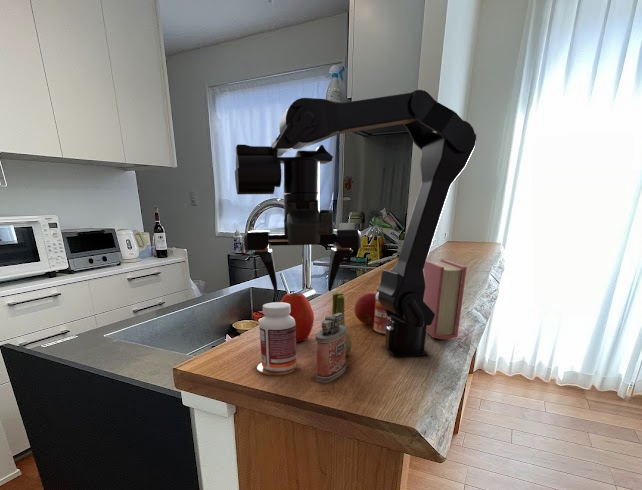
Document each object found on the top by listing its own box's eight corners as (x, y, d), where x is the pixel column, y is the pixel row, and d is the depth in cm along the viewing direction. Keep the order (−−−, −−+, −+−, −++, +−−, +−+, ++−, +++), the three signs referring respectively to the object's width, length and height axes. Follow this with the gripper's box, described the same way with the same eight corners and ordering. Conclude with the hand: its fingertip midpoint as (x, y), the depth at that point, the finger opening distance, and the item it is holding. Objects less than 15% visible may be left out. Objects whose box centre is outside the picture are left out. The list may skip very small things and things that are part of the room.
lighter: (329, 384, 60) (330, 323, 57) (311, 379, 62) (310, 320, 59) (350, 367, 67) (352, 312, 63) (333, 364, 69) (334, 309, 65)
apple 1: (305, 332, 88) (305, 285, 84) (320, 342, 80) (320, 291, 77) (271, 336, 85) (269, 288, 82) (283, 347, 78) (282, 295, 74)
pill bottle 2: (369, 332, 86) (371, 283, 82) (379, 325, 91) (382, 279, 87) (395, 336, 83) (399, 285, 79) (405, 329, 87) (409, 281, 84)
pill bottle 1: (303, 363, 68) (302, 303, 65) (284, 375, 63) (282, 310, 60) (274, 357, 71) (271, 299, 68) (254, 368, 66) (250, 306, 63)
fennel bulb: (330, 348, 77) (330, 289, 73) (354, 350, 75) (356, 290, 71) (321, 358, 72) (322, 294, 68) (347, 360, 70) (349, 296, 66)
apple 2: (387, 299, 86) (378, 281, 92) (353, 313, 88) (347, 294, 94) (395, 323, 91) (386, 304, 97) (363, 335, 93) (356, 316, 99)
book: (432, 341, 79) (456, 341, 79) (440, 267, 74) (466, 267, 74) (415, 322, 93) (436, 323, 93) (421, 259, 88) (443, 259, 88)
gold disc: (295, 360, 71) (295, 359, 70) (296, 374, 64) (295, 373, 64) (258, 361, 71) (258, 360, 70) (255, 376, 64) (255, 374, 64)
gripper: (236, 192, 53) (243, 302, 58) (370, 189, 53) (365, 299, 58) (245, 196, 63) (250, 289, 69) (356, 194, 64) (353, 287, 69)
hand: (302, 291), depth 66 cm, fingers open, 9 cm apart
